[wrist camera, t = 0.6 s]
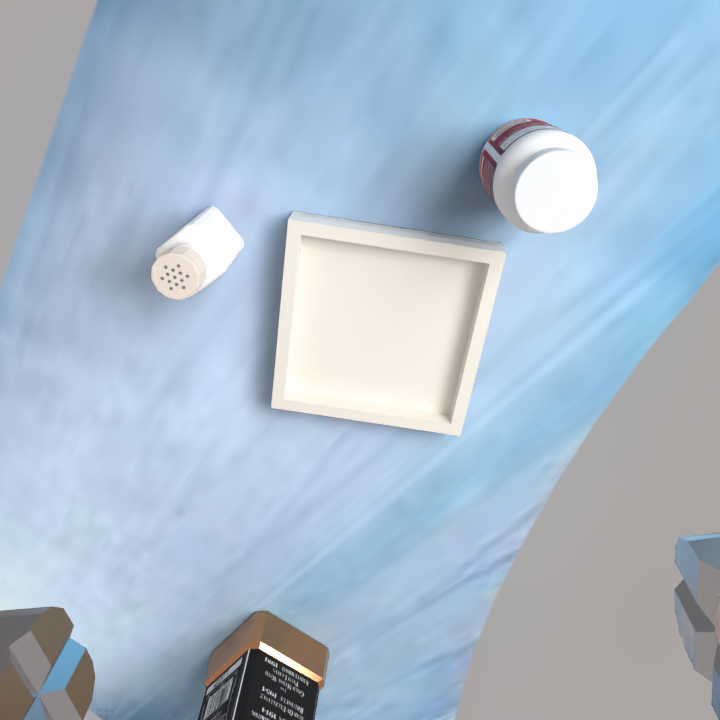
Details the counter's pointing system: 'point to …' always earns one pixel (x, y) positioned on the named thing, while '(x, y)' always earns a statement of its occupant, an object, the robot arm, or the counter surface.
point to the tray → (382, 322)
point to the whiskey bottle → (264, 673)
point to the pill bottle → (539, 176)
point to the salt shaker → (195, 255)
